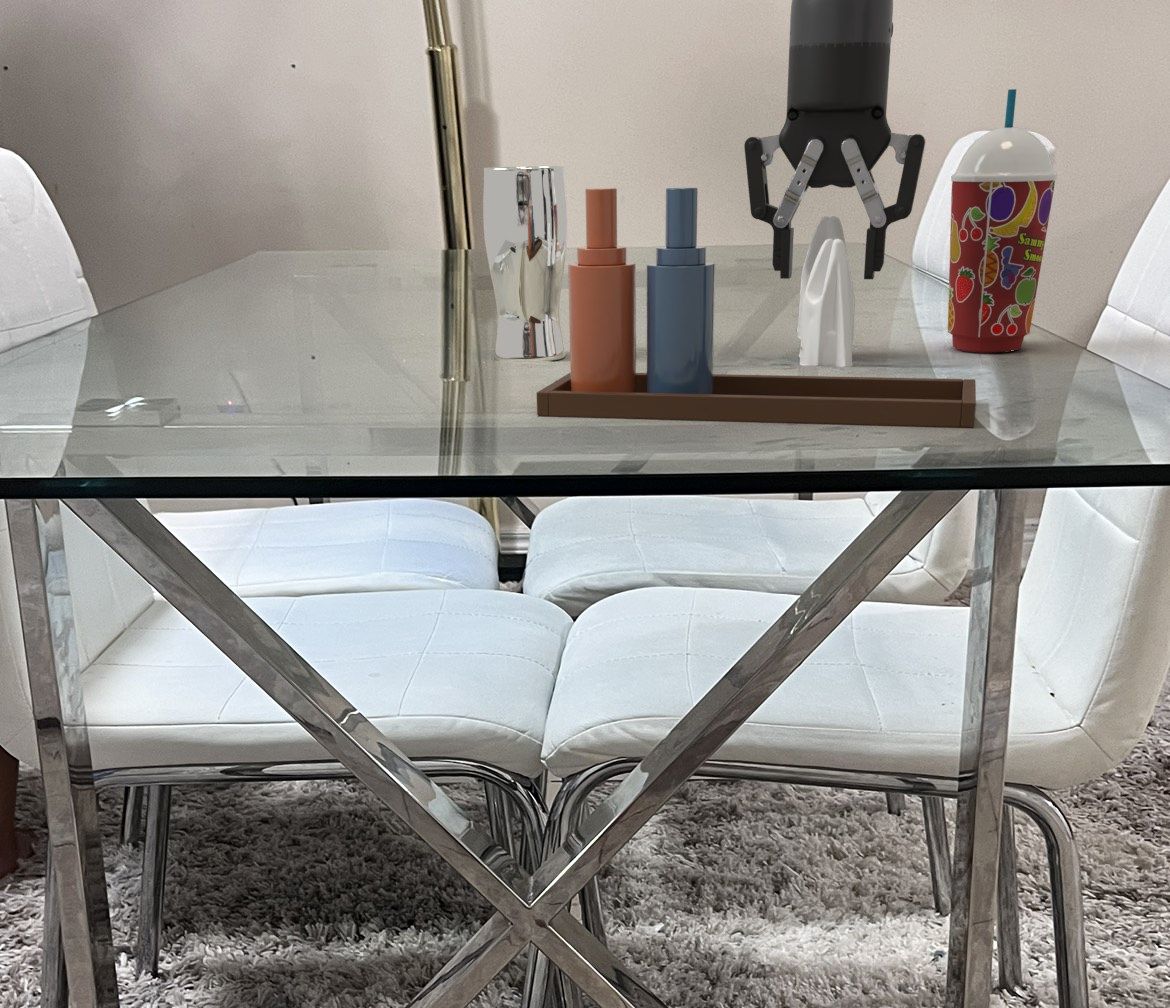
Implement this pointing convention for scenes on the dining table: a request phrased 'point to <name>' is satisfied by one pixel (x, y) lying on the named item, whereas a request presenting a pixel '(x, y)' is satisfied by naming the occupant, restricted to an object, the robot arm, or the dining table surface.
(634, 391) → the terracotta bottle
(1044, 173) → the smoothie
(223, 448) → the dining table surface
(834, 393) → the tray
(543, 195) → the beer glass
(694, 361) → the slate-blue bottle
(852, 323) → the shaker set
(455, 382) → the dining table surface
